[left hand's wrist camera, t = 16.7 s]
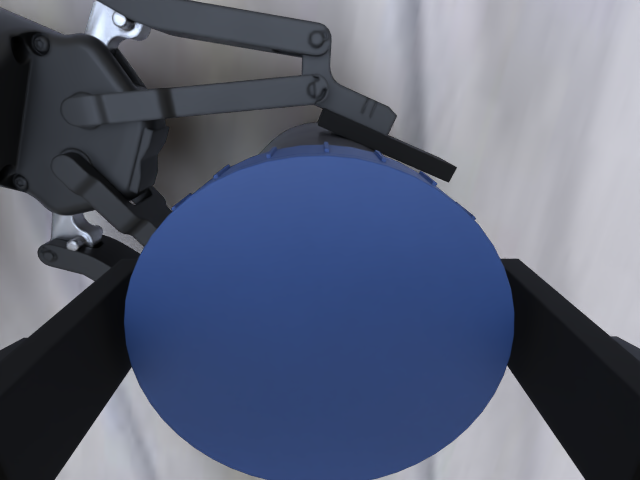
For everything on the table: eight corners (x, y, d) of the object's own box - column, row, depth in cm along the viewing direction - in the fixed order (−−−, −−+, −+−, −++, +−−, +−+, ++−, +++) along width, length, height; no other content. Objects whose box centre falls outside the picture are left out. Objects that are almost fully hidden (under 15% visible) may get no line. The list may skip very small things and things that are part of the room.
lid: (440, 82, 10) (467, 79, 8) (515, 389, 13) (546, 435, 11) (84, 220, 11) (39, 245, 9) (238, 467, 14) (227, 519, 13)
